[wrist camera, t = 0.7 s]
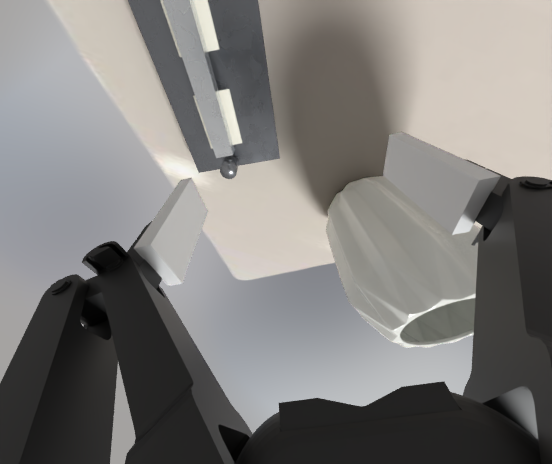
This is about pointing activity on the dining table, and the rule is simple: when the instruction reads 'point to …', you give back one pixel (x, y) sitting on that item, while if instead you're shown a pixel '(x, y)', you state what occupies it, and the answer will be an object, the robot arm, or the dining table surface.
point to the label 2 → (229, 114)
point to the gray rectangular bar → (202, 79)
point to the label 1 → (205, 23)
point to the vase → (402, 265)
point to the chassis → (217, 78)
